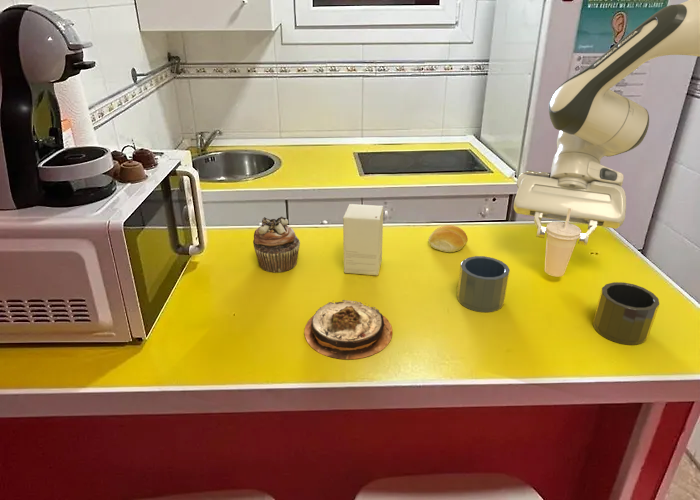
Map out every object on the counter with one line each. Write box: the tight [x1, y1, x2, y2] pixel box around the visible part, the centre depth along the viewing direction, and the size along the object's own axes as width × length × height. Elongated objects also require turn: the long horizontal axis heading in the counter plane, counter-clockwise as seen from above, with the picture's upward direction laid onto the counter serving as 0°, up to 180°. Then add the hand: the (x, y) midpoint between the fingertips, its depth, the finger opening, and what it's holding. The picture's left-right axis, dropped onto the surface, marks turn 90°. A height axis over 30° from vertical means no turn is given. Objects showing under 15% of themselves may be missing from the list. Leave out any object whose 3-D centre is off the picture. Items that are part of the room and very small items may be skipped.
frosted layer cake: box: [304, 299, 393, 360], centre depth 88 cm, size 15×15×4 cm
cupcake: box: [252, 216, 301, 274], centre depth 108 cm, size 10×10×10 cm
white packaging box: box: [342, 203, 384, 276], centre depth 106 cm, size 7×7×13 cm
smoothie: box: [544, 208, 582, 277], centre depth 101 cm, size 6×6×14 cm
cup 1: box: [456, 255, 511, 313], centre depth 96 cm, size 9×9×7 cm
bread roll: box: [428, 224, 469, 253], centre depth 117 cm, size 8×9×4 cm
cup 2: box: [592, 281, 660, 346], centre depth 88 cm, size 9×9×7 cm
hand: (561, 240), depth 100 cm, fingers closed on smoothie, 6 cm apart
